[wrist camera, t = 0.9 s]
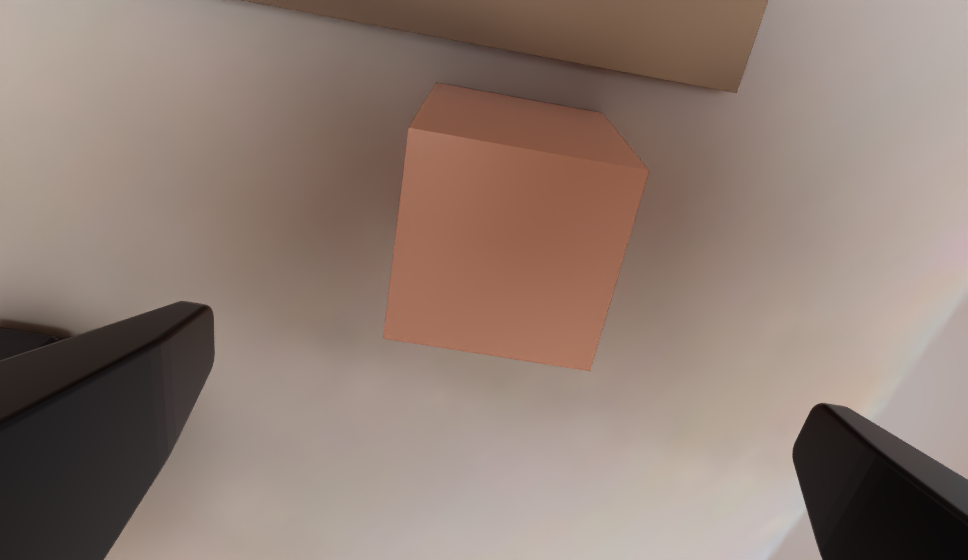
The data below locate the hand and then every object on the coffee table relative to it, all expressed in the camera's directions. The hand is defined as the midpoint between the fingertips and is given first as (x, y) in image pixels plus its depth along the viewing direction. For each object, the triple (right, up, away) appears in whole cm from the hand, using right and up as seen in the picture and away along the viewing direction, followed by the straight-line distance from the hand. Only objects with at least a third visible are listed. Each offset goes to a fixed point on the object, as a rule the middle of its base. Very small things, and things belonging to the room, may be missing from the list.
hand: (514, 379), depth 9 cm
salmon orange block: (0, +5, +11) cm, 12 cm away
